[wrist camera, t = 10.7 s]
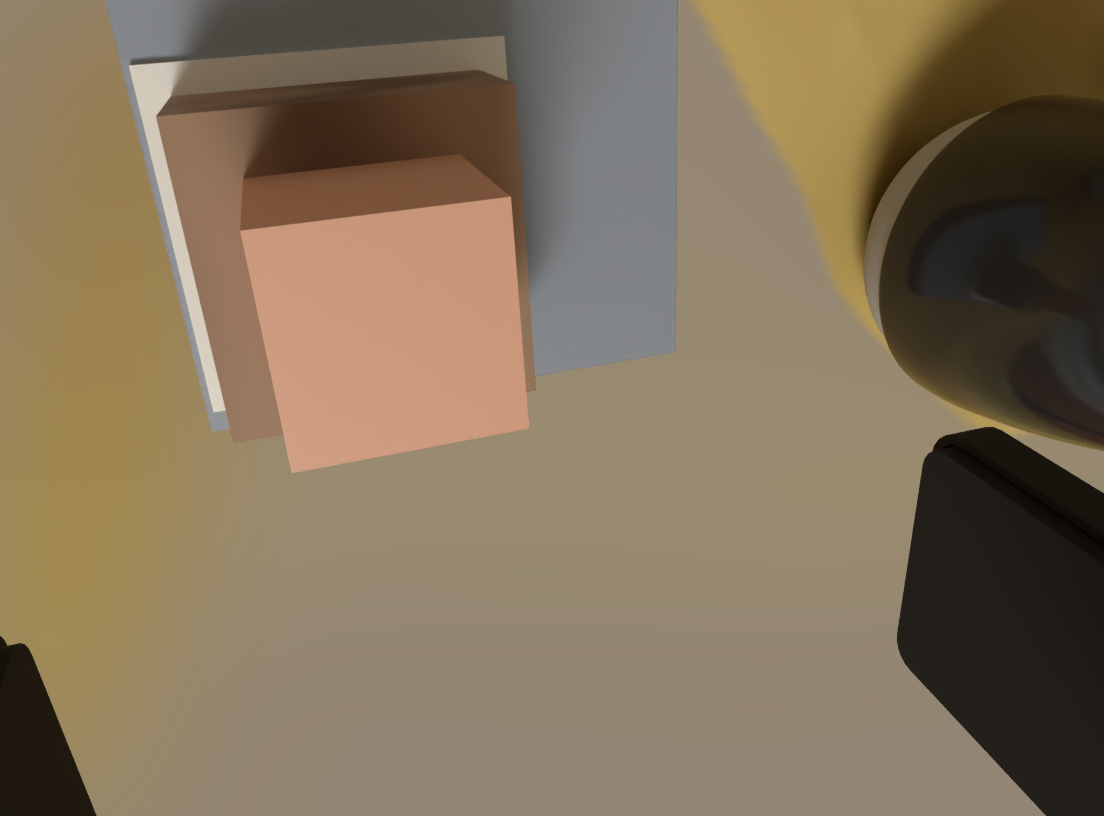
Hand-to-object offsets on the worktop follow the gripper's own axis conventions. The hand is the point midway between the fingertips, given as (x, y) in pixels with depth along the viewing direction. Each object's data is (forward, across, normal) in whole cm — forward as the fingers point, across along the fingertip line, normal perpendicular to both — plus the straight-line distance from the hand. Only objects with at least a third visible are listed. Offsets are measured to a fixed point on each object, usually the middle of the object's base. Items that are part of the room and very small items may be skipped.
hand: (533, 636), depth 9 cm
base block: (+19, 0, 0) cm, 19 cm away
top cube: (+15, 0, 0) cm, 15 cm away
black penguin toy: (+20, -21, +3) cm, 29 cm away
